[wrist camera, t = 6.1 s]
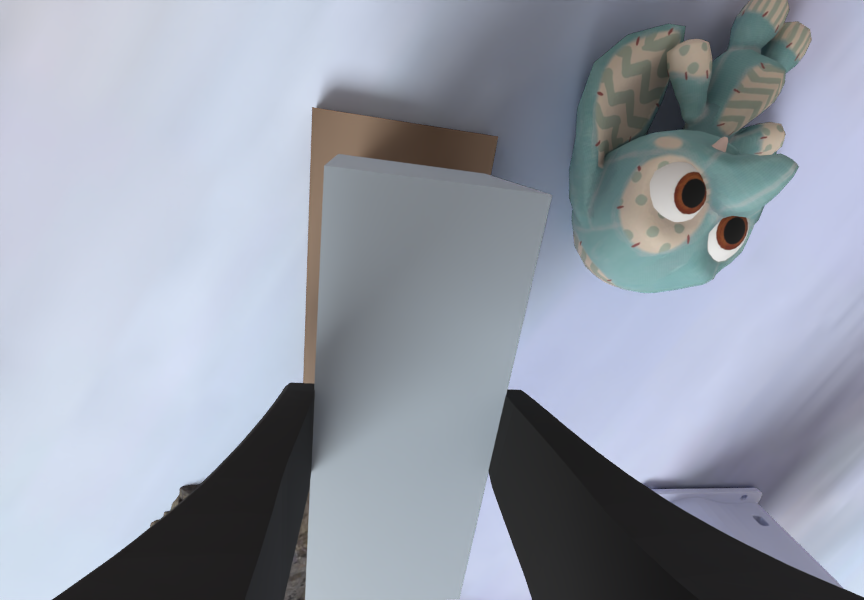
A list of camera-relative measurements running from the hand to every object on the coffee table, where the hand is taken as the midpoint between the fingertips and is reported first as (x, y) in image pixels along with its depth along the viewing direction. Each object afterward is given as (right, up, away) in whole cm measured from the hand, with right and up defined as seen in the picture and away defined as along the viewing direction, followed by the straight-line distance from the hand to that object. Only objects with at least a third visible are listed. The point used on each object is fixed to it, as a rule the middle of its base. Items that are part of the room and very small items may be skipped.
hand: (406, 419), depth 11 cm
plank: (-1, +2, +4) cm, 5 cm away
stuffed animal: (+11, +10, +8) cm, 17 cm away
